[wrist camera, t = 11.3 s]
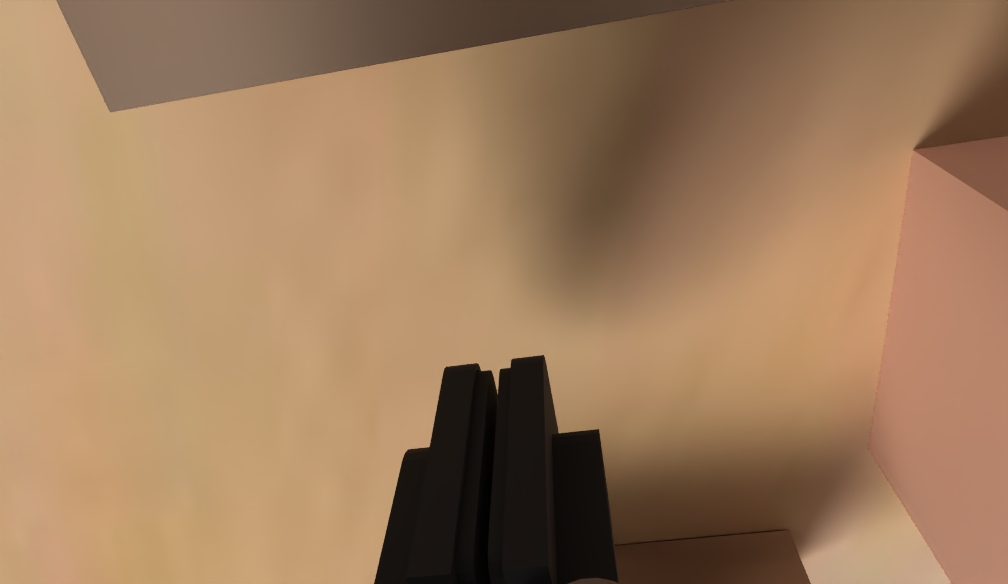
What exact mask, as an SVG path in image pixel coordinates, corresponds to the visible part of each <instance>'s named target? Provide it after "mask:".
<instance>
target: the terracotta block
mask: <svg viewBox="0 0 1008 584" xmlns="http://www.w3.org/2000/svg"><path fill="white" fill-rule="evenodd" d="M868 450H869V451H870V453H871V454H872V456H873V458H874V459H875V461H876V462H877V464H878V466H879V467H880V469H881V471H882V472H883V474H884V475H885V477H886V479H887V480H888V482H889V483H890V485H891V487H892V488H893V490H894V491H895V493H896V495H897V496H898V498H899V500H900V501H901V503H902V504H903V506H904V508H905V509H906V511H907V512H908V514H909V516H910V517H911V519H912V520H913V522H914V524H915V525H916V527H917V529H918V530H919V532H920V533H921V535H922V537H923V538H924V540H925V541H926V543H927V545H928V546H929V548H930V550H931V551H932V553H933V554H934V556H935V558H936V559H937V561H938V562H939V564H940V566H941V567H942V569H943V570H944V572H945V574H946V575H947V577H948V579H949V580H950V582H951V583H952V584H1008V136H1004V137H997V138H990V139H983V140H977V141H970V142H963V143H956V144H949V145H943V146H936V147H929V148H922V149H916V150H913V153H912V159H911V166H910V173H909V180H908V186H907V193H906V200H905V206H904V213H903V220H902V227H901V233H900V240H899V247H898V253H897V260H896V267H895V274H894V280H893V287H892V294H891V301H890V307H889V314H888V321H887V327H886V334H885V341H884V348H883V354H882V361H881V368H880V374H879V381H878V388H877V395H876V401H875V408H874V415H873V421H872V428H871V435H870V442H869V448H868Z"/></svg>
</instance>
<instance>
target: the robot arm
mask: <svg viewBox="0 0 1008 584" xmlns="http://www.w3.org/2000/svg"><path fill="white" fill-rule="evenodd" d="M374 584H619V578H618V571H617V563H616V555H615V547H614V539H613V531H612V524H611V516H610V508H609V500H608V493H607V485H606V478H605V470H604V463H603V455H602V448H601V441H600V434H599V429H597V430H588V431H578V432H569V433H558V427H557V422H556V416H555V411H554V405H553V399H552V394H551V388H550V383H549V377H548V372H547V366H546V361H545V357H544V355H541V356H533V357H525V358H516V359H512V360H511V368H506V369H500V373H499V388H498V394H497V390H496V386H495V381H494V377H493V374H492V371H491V370H489V371H481V369H480V366H479V364H477V363H475V364H467V365H459V366H450V367H446V368H445V369H444V373H443V378H442V384H441V389H440V394H439V400H438V405H437V411H436V416H435V421H434V427H433V432H432V438H431V443H430V447H428V448H418V449H409V450H407V451H406V453H405V455H404V458H403V461H402V465H401V469H400V473H399V478H398V482H397V487H396V491H395V495H394V500H393V504H392V508H391V513H390V517H389V521H388V526H387V530H386V535H385V539H384V543H383V548H382V552H381V556H380V561H379V565H378V569H377V574H376V578H375V583H374Z"/></svg>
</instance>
